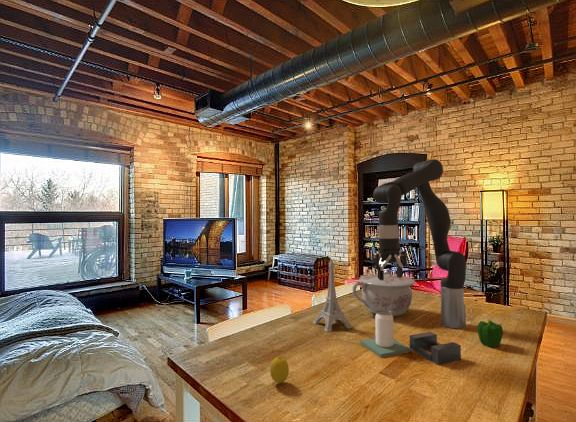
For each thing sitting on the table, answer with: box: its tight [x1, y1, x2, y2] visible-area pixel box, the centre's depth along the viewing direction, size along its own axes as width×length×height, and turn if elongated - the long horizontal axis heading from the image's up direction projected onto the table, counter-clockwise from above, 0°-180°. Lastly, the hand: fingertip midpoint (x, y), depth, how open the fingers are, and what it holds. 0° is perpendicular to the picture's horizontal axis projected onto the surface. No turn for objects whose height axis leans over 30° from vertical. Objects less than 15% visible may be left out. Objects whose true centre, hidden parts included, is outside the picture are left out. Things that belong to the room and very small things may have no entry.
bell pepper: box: [476, 319, 504, 348], centre depth 122 cm, size 8×8×10 cm
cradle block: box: [409, 331, 462, 366], centre depth 114 cm, size 11×14×5 cm
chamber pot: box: [351, 271, 416, 318], centre depth 162 cm, size 28×28×21 cm
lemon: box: [269, 356, 290, 385], centre depth 95 cm, size 6×6×8 cm
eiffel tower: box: [312, 258, 353, 333], centre depth 145 cm, size 13×13×30 cm
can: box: [374, 310, 395, 348], centre depth 120 cm, size 6×6×12 cm
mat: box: [359, 337, 412, 358], centre depth 120 cm, size 13×13×1 cm
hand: (390, 278), depth 123 cm, fingers open, 8 cm apart
